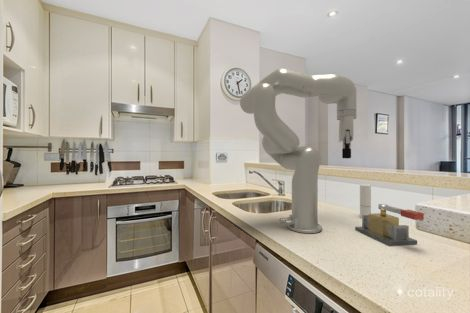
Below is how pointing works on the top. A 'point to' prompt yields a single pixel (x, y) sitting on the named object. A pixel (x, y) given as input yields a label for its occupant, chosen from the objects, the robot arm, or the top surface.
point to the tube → (365, 199)
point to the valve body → (385, 229)
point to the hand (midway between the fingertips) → (346, 158)
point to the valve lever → (403, 212)
